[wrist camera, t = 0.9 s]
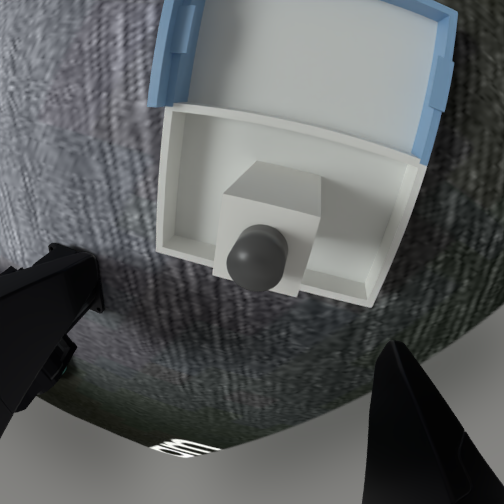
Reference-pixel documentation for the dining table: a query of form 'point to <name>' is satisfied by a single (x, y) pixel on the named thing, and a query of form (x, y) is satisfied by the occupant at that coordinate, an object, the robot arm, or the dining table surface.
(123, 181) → the dining table surface
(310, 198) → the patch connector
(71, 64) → the dining table surface
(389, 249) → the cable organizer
